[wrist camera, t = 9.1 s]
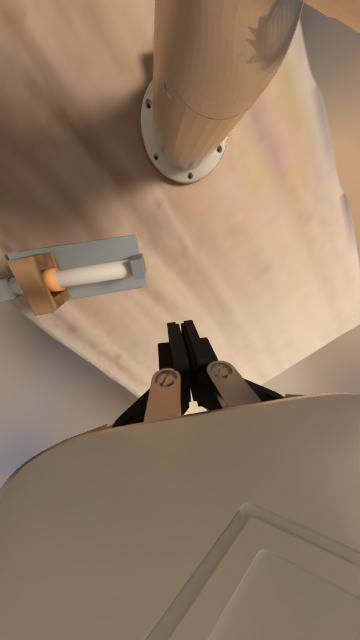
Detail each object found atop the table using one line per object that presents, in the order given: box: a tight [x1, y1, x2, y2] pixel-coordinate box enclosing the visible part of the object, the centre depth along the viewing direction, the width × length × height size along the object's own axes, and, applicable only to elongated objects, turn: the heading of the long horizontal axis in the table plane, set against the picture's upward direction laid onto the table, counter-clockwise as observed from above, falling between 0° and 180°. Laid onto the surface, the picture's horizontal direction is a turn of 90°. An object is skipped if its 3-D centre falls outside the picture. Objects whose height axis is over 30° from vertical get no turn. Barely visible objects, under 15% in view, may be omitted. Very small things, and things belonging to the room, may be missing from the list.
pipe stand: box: [0, 235, 146, 302], centre depth 30 cm, size 9×21×8 cm, turn 97°
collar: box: [7, 252, 71, 316], centre depth 28 cm, size 8×2×7 cm, turn 8°
